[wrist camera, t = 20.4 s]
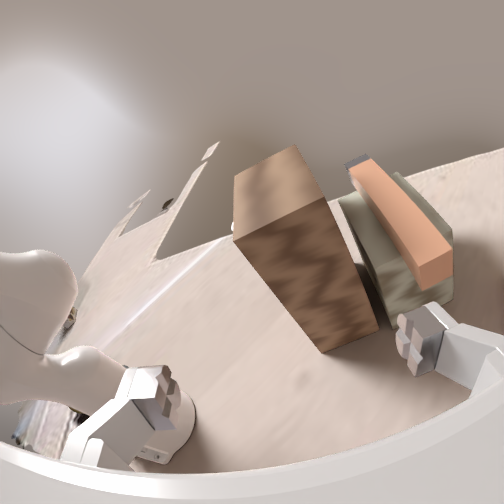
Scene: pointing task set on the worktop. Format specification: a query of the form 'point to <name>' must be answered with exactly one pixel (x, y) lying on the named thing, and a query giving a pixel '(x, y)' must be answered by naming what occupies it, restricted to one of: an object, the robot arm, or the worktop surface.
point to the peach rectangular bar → (403, 223)
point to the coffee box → (70, 318)
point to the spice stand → (325, 251)
